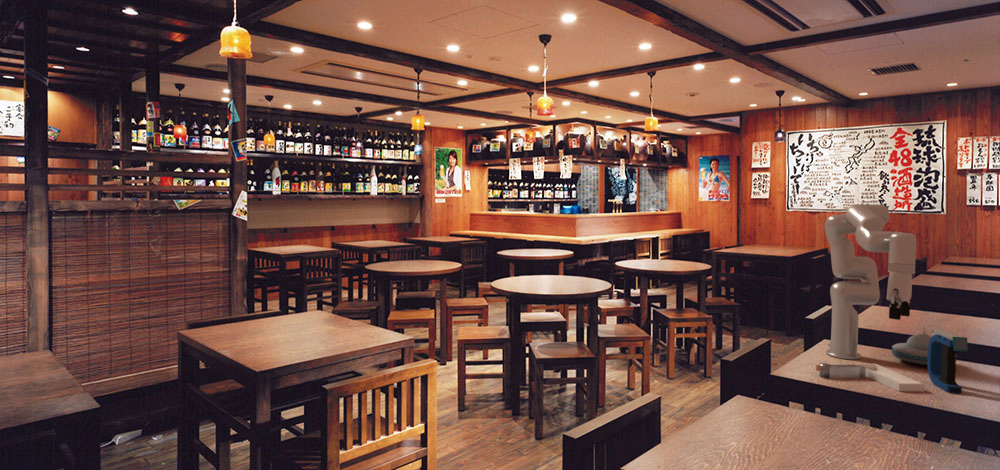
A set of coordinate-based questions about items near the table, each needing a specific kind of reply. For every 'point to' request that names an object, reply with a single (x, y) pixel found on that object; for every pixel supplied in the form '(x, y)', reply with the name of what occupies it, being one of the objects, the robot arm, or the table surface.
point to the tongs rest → (892, 378)
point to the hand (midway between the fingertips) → (899, 317)
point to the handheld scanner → (944, 359)
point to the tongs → (841, 371)
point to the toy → (914, 349)
